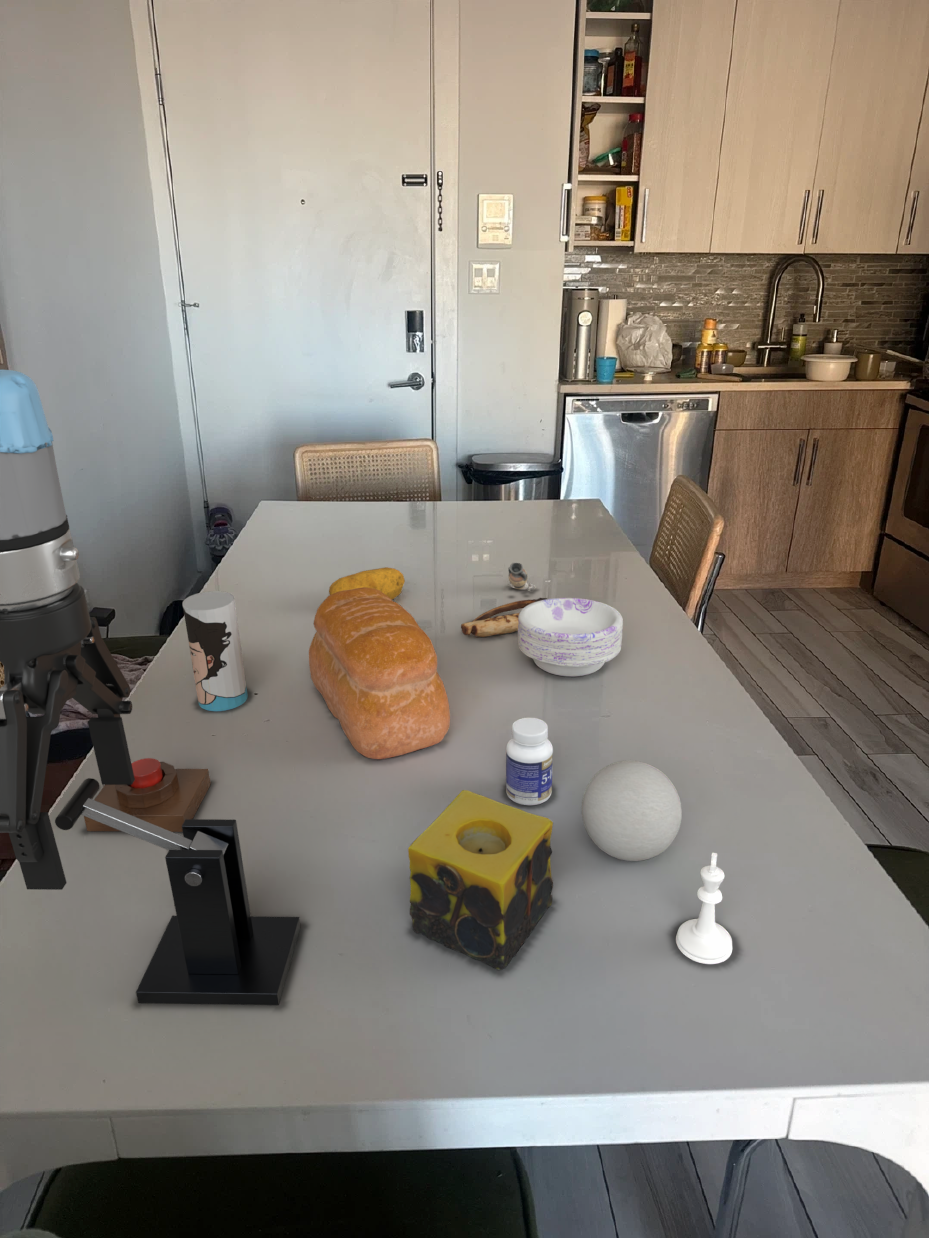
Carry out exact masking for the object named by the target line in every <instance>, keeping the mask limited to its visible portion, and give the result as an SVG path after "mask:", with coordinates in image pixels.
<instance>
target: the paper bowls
mask: <svg viewBox="0 0 929 1238" xmlns="http://www.w3.org/2000/svg"><path fill="white" fill-rule="evenodd" d="M518 613H519V617H518V621H519V624H518V631H517V646H518V648H519V650H520V651H521V652H522V653H523V654H524V655H525V656H527V657H529V658H530V659H532V660H533V662H534V664H535V665H536V666H537V667H538V668H540V669H541V670H543V671H544V672H546V673H549V674H551V675H556V676H560V677H571V678H572V677H584V676H588V675H592V674H594V673H595V672H597V671H599V670H600V669H601V668H603V666H604V665H605V663H606V662H609V661H612V660H613V659H614V658H616V657H617V656H618V655H619V654H620V652H621V650H622V641H623V628H624V620H623V619H624V618H623V616H622V614H621V613H620V611H618V609H616V608H615V607H613V606H611V605H609V604H606V603H604V602H601V601H597V600H593V599H589V598H588V599H587V598H581V597H553V598H547V599H546V600H541V601H537V602H534V603H531V604H529V605H527V606H526V607H524V608H521V609H520V611H519V612H518Z"/></svg>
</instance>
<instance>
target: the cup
mask: <svg viewBox="0 0 929 1238" xmlns="http://www.w3.org/2000/svg"><path fill="white" fill-rule="evenodd" d="M182 609H183V616H184V621H185V627H186V628H185V629H186V634H187V641H188V647H189V652H190V660H191V665H192V671H193V678H194V683H195V684H194V685H195V690H196V696H197V701H198V702H197V703H198V706H199V707H200V708H201V709H203V710H206V711H211V712H225V711H229V710H233V709H236V708H238V707H239V706H242V705H243V704H245V702H247V700H248V698H249V695H248V690H247V688H248V687H247V681H246V673H245V666H244V658H243V650H242V645H241V644H242V643H241V635H240V629H239V622H238V613H237V607H236V600H235V595H234V594H233V593H231V592H228V591H223V590H209V591H202V592H198V593H194V594H192V595H189V596H188V597H186V598H185V599H184V600H183V601H182Z"/></svg>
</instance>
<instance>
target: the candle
mask: <svg viewBox="0 0 929 1238" xmlns="http://www.w3.org/2000/svg"><path fill="white" fill-rule="evenodd" d="M553 825H554V822H553V820H551V819H550V818H548V817H545V816H542V815H538V814H534V813H530V812H528V811H525V810H523V809H520V808H517V807H514V806H511V805H508V804H505V803H503V802H500V801H497V800H494V799H492V798H489V797H487V796H484V795H482V794H478V793H475V792H474V791H470V790H467V789H463V790H461V791H460V792H459V794H457V796H456V797H455V798H454V799H453V800H452V801H451V802H450V803H449V804H448V805H447V806H446V807H445V808H444V810H443V811H442V812H441V813H440V814H439V815H438V817H436V819H434V821H432V823H431V824H430V825H429V826H427V828H425V830H423V832H422V833H421V834H420V835H419V836H417V838H415V840H414V841H413V842H412V843H411V844H410V845H409V847H408V848H407V851H408V860H409V866H408V867H409V870H410V875H409V882H410V883H409V884H410V885H409V886H410V896H409V904H410V906H409V916H410V917H411V920H412V924H411V928H412V930H413V931H414V932H415V934H420V935H423V936H424V937H426V938H428V939H429V940H432V941H436V942H437V943H440V944H442V945H443V946H444V947H446V948H449V949H451V950H454V951H456V952H459V953H460V954H464V955H466V956H468V957H471V958H472V959H473V960H476V961H481V962H482V963H484V964H486V965H488V966H490V967H492V968H494V969H495V970H498V971H499V970H500V971H502V970H504V969H505V968H506V967H507V966H508V965H509V964H510V962H511V961H512V958H514V957H515V956H516V955H517V954H518V952H519V950H520V947H522V946H523V944H524V943H526V939H527V938H528V937H529V936H530V935H531V933H532V931H534V930H535V927H536V925H537V924H538V922H539V921H540V920H541V918H542V917H543V916H544V914H545V913H546V910H548V909H549V908H550V907H551V906H552V903H553V895H552V893H553V892H552V891H553V887H554V882H553V881H554V880H553V878H552V877H553V876H552V867H551V856H552V855H553V849H552V847H551V838H552V833H553Z"/></svg>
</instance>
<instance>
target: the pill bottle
mask: <svg viewBox="0 0 929 1238" xmlns="http://www.w3.org/2000/svg"><path fill="white" fill-rule="evenodd" d="M548 737H549V726H548V724H547V722H546V721H545V720H542V719H540V718H537V717H522V718H518V719H516V720H515V721H514V722H513V723H512V725H511V739H510V740H508V742H507V744H506V746H505V747H506V749H505V753H506V754H505V763H506V764H505V793H506V796H507V797H508V798H509V799H510V800H511V801H512V802H514V803H516V804H518V805H522V806H536V805H540V804H543V803H545V802H547V801H548V800H549V799H550V797H551V796H552V792H553V765H554V764H553V760H554V759H553V758H554V747H553V745H552V742H551V741H550V740H549V738H548Z"/></svg>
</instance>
